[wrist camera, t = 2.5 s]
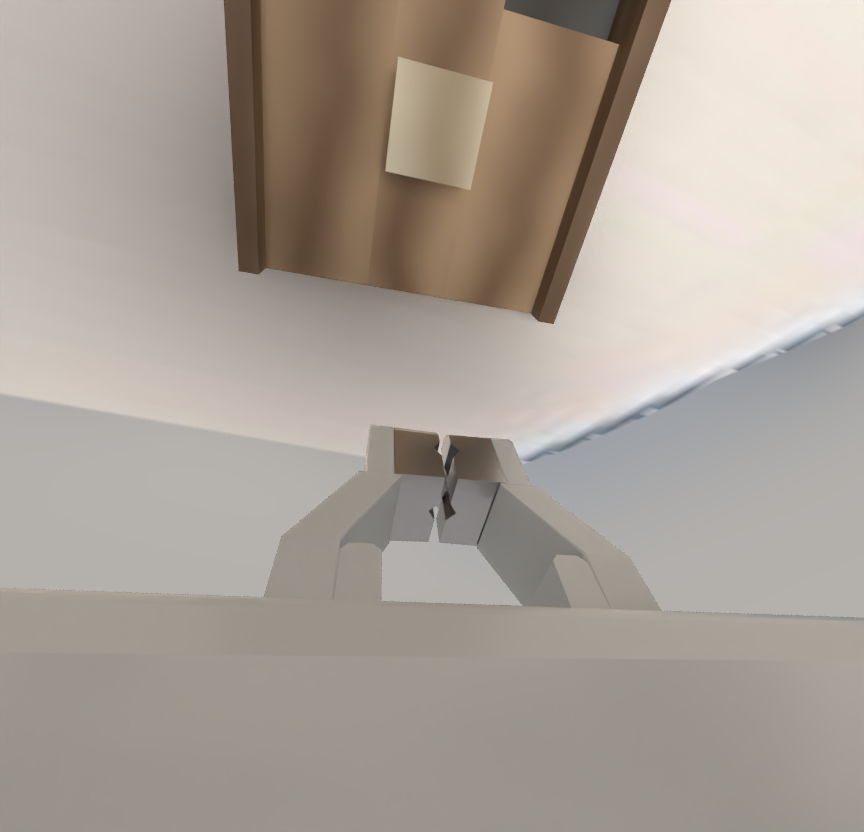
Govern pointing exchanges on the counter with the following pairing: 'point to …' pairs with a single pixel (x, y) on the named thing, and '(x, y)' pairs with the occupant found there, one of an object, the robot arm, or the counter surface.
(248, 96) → the trap lane
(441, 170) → the birch block
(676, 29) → the counter surface
